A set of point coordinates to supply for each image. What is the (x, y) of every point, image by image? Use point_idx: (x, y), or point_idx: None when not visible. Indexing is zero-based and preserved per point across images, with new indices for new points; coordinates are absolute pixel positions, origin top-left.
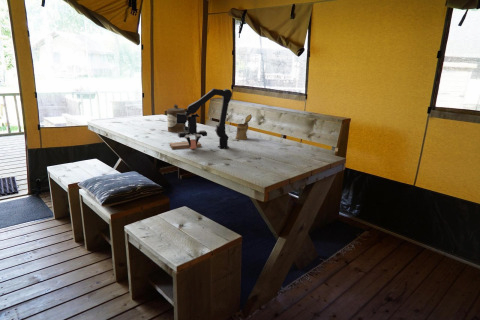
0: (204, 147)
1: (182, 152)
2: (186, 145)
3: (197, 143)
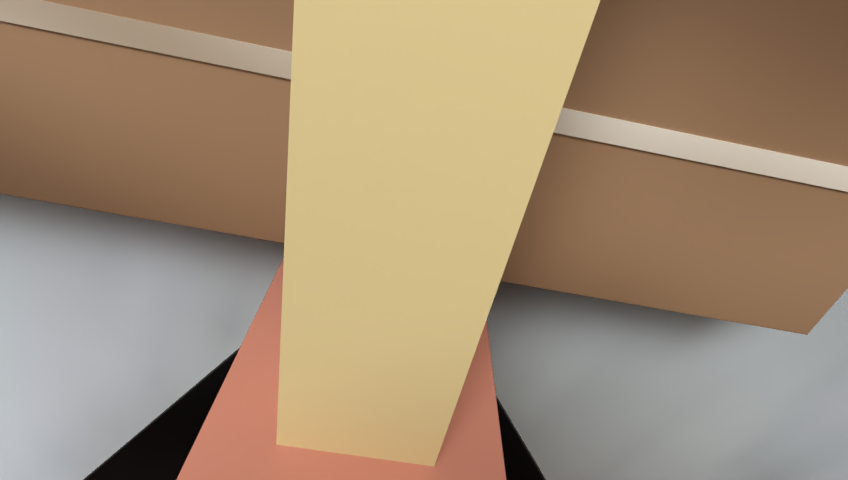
0: (755, 352)
1: (40, 452)
2: (140, 209)
3: (778, 174)
